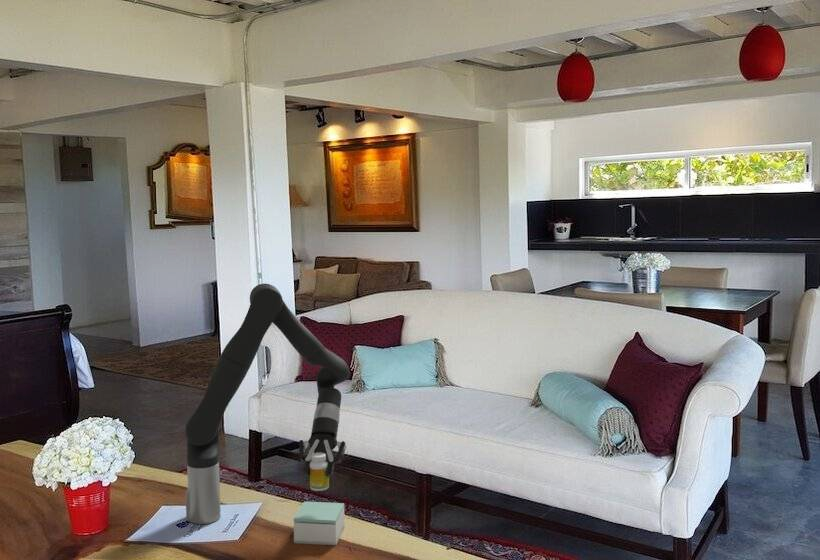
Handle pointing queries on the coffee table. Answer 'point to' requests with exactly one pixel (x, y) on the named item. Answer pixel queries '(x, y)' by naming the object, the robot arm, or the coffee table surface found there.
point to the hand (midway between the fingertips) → (317, 475)
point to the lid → (319, 512)
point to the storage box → (318, 532)
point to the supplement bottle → (319, 472)
